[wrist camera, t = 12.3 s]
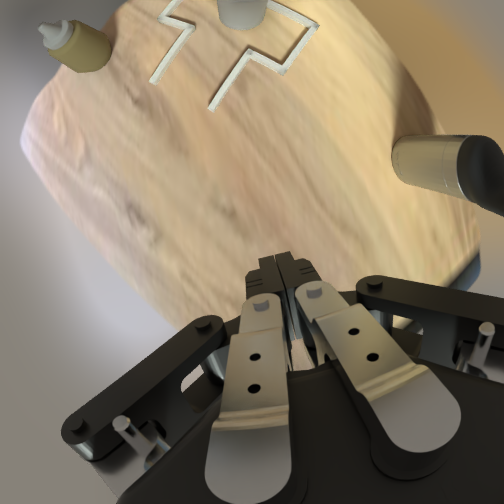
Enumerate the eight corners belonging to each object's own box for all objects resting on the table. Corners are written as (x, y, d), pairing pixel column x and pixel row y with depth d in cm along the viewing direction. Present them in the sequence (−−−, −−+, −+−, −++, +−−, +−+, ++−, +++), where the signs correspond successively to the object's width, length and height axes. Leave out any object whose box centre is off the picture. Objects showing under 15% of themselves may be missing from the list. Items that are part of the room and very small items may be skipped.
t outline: (247, 130, 40) (247, 129, 38) (124, 72, 35) (120, 70, 33) (317, 28, 34) (319, 25, 32) (197, -22, 29) (196, -26, 27)
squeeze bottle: (83, 43, 31) (28, 13, 14) (120, 34, 32) (72, -8, 15) (76, 81, 34) (14, 60, 17) (113, 73, 35) (56, 42, 18)
